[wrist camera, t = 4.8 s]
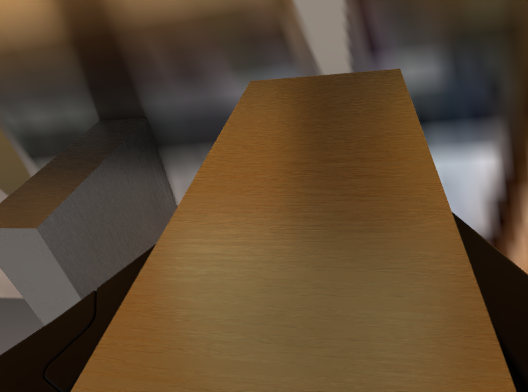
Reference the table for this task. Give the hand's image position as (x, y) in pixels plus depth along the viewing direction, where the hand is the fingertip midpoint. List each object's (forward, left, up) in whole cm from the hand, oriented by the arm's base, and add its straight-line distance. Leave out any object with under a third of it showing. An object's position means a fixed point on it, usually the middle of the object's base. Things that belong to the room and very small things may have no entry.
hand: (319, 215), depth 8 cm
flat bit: (+10, +4, -9) cm, 14 cm away
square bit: (0, 0, -4) cm, 4 cm away
